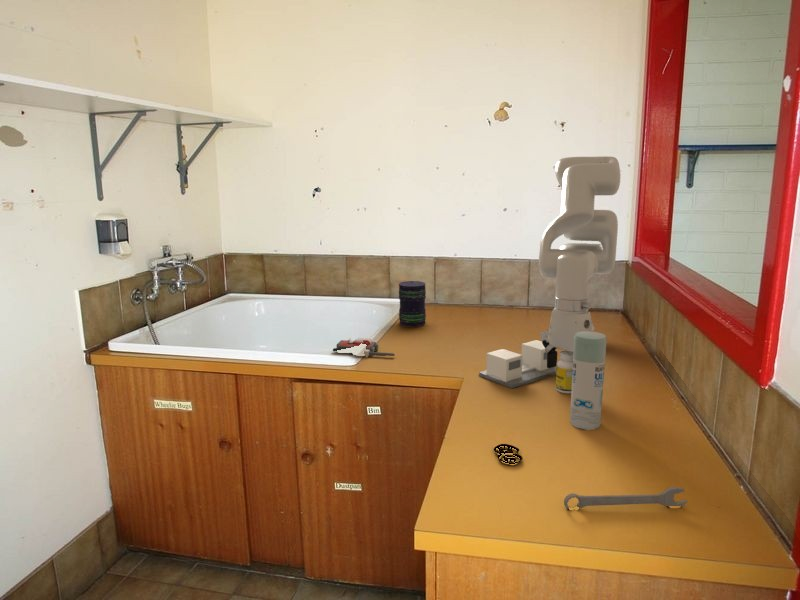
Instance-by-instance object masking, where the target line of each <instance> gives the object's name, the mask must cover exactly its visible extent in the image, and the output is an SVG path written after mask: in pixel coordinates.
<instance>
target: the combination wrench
mask: <svg viewBox="0 0 800 600" xmlns="http://www.w3.org/2000/svg"><path fill="white" fill-rule="evenodd" d="M685 491H686V490H685V489H684V488H682V487H678V486H671V487H668V488H666V489H665V490H664V491H663V492H660V493H657V494H617V495H614V494H611V495H580V494H577V493H574V492H573V493H569V494H567V495H566V496H565V498H564V499H563V506H564V507H565V508H566V510H568V509H569V507H570V506H569V505H568V503H569V501H571V499H574V498H575V499H578V502H577V503H576V505H577V507H579V508H580V509H581V508H585V507H594V506H597V507H598V506H621V505H622V506H623V505H624V506H625V505H650V504H655V505H656V504H659V505H662V506H664V507H665V506H666V507H667V506H668V507H669V506H682V507H684V506H685V505H686V504H687V503H688V500H687V499H684V500H679V501H675V499H674V497H675V495H676V494H677V495H678V494H680V493H683V492H685ZM668 507H667V508H668Z"/></svg>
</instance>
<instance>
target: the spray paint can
mask: <svg viewBox="0 0 800 600" xmlns="http://www.w3.org/2000/svg"><path fill="white" fill-rule="evenodd" d="M607 341H608V339H607V335H606V334H604V333H601V332H598V331H582V332H577V333H576V334H575V336H574V351H573V371H572V392H571V393H570V395H571V396H570V397H571V398H570V417H569V418H570V419H569V423H570V424H571V426H572V427H575V428H577V429H579V430H585V431H592V430H597V429H599V428H600V426H601V419H602V418H601V417H602V406H603V396H604V395H603V394H604V392H603V391H604V382H605V381H604V380H605V366H606V352H607Z"/></svg>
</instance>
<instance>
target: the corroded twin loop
mask: <svg viewBox="0 0 800 600" xmlns="http://www.w3.org/2000/svg"><path fill="white" fill-rule="evenodd" d="M500 446H504V448H502V447H500ZM505 446H507V447H508V449H507V448H505ZM499 447H500V448H502V449H500V448H499ZM510 447H511V450H509V448H510ZM496 448H498V449H499V451H500V452H497V451H496ZM512 448H514V449H516V450H517V451H515V452H514V450H512ZM501 450H508V451H505V452H504V451H501ZM493 451H494V452H497V453H499V454H500V455H497V459H498V460H499V457H500V456H501V455H502V454H501V453H504V454H505V453H513V455H515V456H517V457H519V458H520V459H519V460H518V461H517V458H516V457H515V456H513V455H505V456H507V457H512V456H513V457H515V458H505V456H502V458H504V460H505V461H507V462H505V461H503V460H502V458H501V459H500V460H501V461H503V462H505V463H509V464H515V463H518V462H519V463H521V461H523V456H522V455H520V454H518V452H520V449H519V447H516V446H514V445H513V444H509V443H501V444H497V445H495V446H494V448H493ZM516 453H517V454H516ZM508 459H510V461H509V462H508ZM500 460H499V461H500ZM511 460H514V462H515V461H517V462H515V463H513V462H512V461H511ZM501 461H500V462H501ZM510 462H511V463H510ZM519 463H518V464H519Z"/></svg>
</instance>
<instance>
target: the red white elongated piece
mask: <svg viewBox="0 0 800 600" xmlns="http://www.w3.org/2000/svg"><path fill="white" fill-rule="evenodd" d="M361 343H362V344H366V345H367V346H366V350H365V351H364V354H365V356H366V357H365V358H369V357H373V356H374V357H375V356H376V357H386V356H387V357H388V356H389V357H395V353H393V352H378V351H379V344H377V342H375V341H372V339H371V338H368V337H367V338H366V337H365V338H364V337H358V338H355V340H352V339H351V338H348V339H346V340H345V339H344V340H343V339H342V340H339V341H338V342H337V344H336V347H334V348H332V352H334V351H337V350H341V349H346V348H351V347H354V346H359V345H360V344H361ZM375 350H376V351H375ZM374 351H375V352H374ZM368 356H369V357H368Z"/></svg>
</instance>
